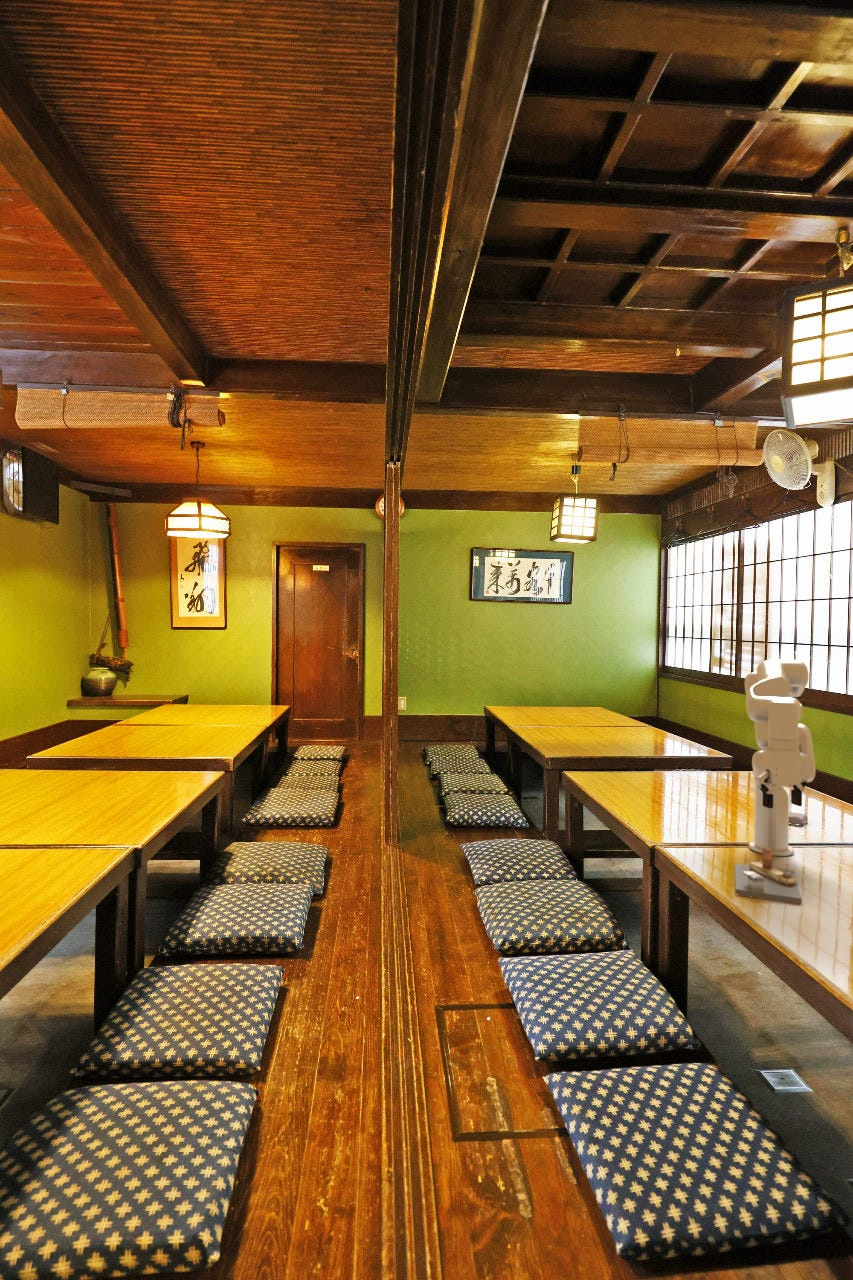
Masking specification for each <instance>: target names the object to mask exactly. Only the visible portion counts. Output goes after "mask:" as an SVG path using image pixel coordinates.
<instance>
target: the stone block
mask: <svg viewBox="0 0 853 1280" xmlns="http://www.w3.org/2000/svg"><path fill="white" fill-rule="evenodd" d="M807 821H809V818H808V814H805V813H799V812H791V811H789V823H791V824H799V825H803V824H804V822H807ZM807 823H808V822H807ZM791 824H790V825H791ZM804 825H805V824H804ZM804 825H803V826H804Z"/></svg>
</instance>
